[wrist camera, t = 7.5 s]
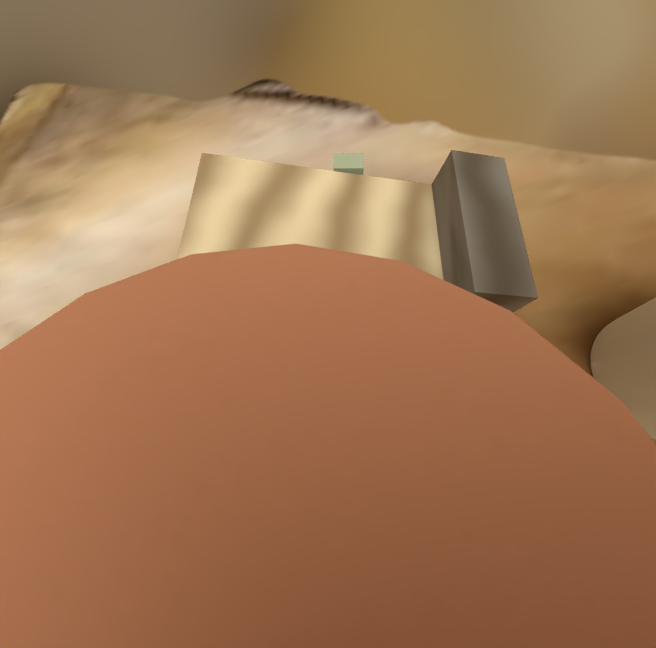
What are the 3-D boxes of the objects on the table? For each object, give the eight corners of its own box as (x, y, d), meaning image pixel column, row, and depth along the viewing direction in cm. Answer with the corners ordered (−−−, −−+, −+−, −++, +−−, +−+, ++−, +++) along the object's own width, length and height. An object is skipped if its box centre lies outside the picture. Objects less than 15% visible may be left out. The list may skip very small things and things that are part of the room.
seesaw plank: (460, 205, 36) (501, 150, 29) (482, 341, 30) (540, 310, 23) (210, 173, 33) (193, 101, 26) (179, 318, 27) (147, 274, 20)
